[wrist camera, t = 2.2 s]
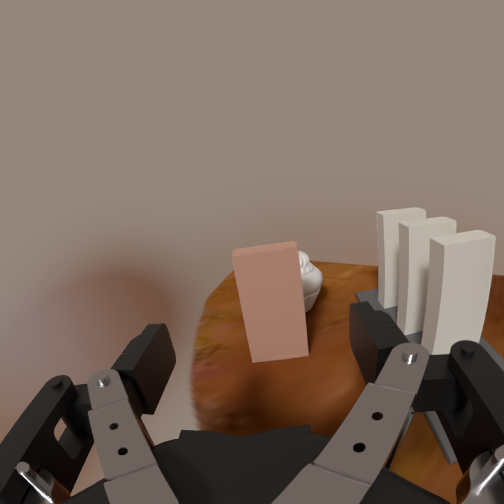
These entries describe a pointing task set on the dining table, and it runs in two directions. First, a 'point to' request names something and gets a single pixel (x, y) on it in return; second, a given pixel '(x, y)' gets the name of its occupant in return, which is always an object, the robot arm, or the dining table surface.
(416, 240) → the ivory domino
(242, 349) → the dining table surface
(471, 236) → the ivory domino
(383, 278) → the ivory domino
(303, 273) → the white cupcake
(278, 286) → the terracotta domino
